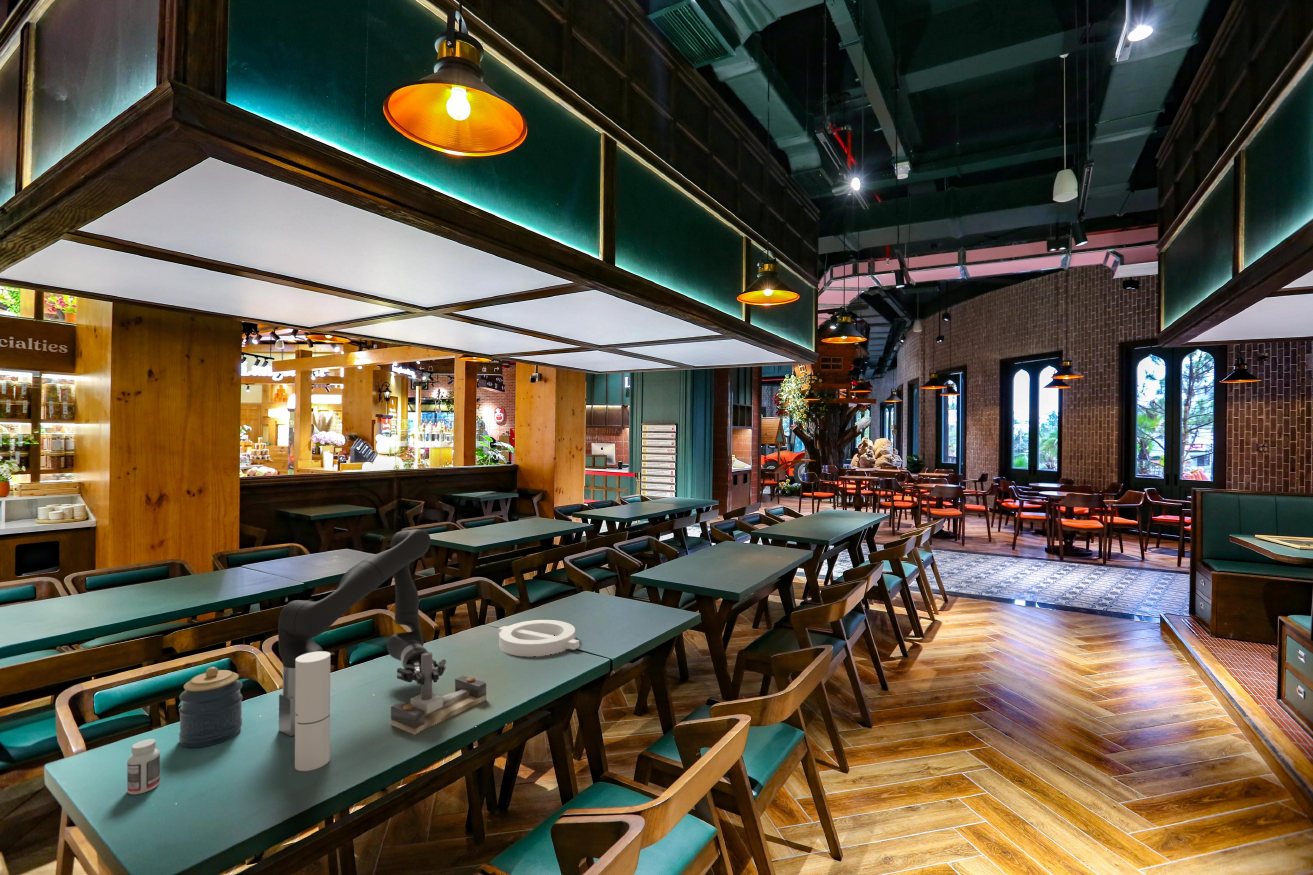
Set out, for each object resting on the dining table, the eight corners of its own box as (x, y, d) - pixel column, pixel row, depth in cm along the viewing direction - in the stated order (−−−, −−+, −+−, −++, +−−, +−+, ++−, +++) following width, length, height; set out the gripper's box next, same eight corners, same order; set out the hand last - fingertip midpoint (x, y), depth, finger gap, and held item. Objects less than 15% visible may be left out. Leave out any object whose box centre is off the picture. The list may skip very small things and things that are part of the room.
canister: (252, 721, 158) (252, 656, 158) (224, 746, 145) (225, 675, 145) (199, 725, 156) (199, 659, 156) (166, 750, 143) (166, 678, 143)
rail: (414, 734, 151) (414, 712, 151) (390, 724, 156) (391, 703, 156) (486, 699, 171) (486, 680, 171) (463, 691, 177) (463, 673, 177)
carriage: (427, 713, 156) (427, 659, 156) (410, 707, 160) (410, 654, 160) (442, 706, 160) (442, 653, 160) (426, 700, 164) (426, 648, 164)
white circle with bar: (497, 635, 229) (497, 623, 229) (568, 628, 238) (568, 617, 238) (501, 661, 202) (501, 647, 202) (581, 652, 211) (581, 639, 211)
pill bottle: (157, 777, 131) (158, 734, 132) (161, 787, 128) (161, 742, 128) (125, 788, 128) (126, 743, 128) (128, 798, 124) (128, 752, 124)
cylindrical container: (322, 751, 143) (323, 649, 143) (334, 761, 138) (335, 655, 139) (290, 763, 137) (290, 657, 138) (301, 774, 133) (302, 664, 133)
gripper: (390, 651, 168) (401, 671, 154) (440, 642, 176) (455, 660, 161) (390, 677, 168) (401, 700, 154) (440, 667, 176) (455, 687, 161)
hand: (429, 679), depth 158 cm, fingers closed on carriage, 3 cm apart
